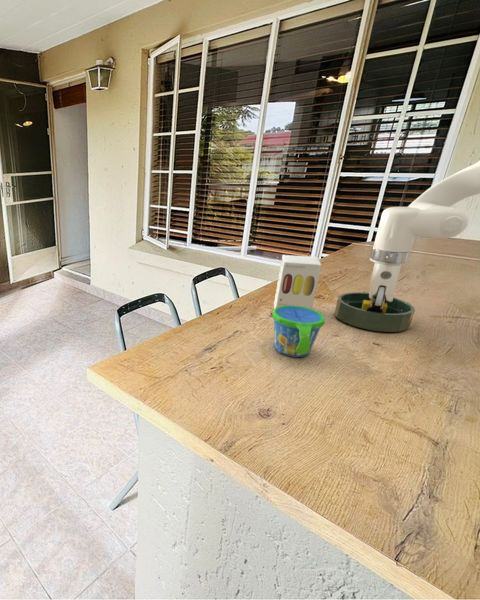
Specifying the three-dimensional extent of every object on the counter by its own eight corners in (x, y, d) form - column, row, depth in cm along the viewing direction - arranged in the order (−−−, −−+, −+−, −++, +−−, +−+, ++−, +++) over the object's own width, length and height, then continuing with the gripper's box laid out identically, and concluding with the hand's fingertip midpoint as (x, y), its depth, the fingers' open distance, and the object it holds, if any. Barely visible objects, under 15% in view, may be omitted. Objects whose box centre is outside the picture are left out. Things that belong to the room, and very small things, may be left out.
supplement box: (273, 315, 106) (282, 261, 100) (272, 304, 113) (280, 254, 107) (311, 319, 102) (322, 264, 96) (307, 307, 109) (317, 255, 103)
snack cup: (322, 371, 78) (332, 330, 74) (269, 363, 82) (276, 324, 78) (310, 339, 91) (318, 303, 87) (265, 334, 95) (270, 299, 91)
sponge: (381, 321, 97) (386, 303, 95) (381, 325, 95) (387, 307, 93) (359, 317, 100) (363, 299, 98) (358, 321, 98) (363, 303, 96)
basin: (406, 316, 100) (412, 298, 98) (410, 339, 88) (417, 319, 86) (336, 305, 110) (340, 288, 108) (331, 324, 98) (335, 306, 96)
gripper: (411, 265, 82) (389, 335, 89) (406, 250, 94) (388, 313, 101) (370, 261, 87) (353, 328, 93) (371, 248, 98) (355, 307, 105)
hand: (371, 319), depth 97 cm, fingers closed on sponge, 3 cm apart
